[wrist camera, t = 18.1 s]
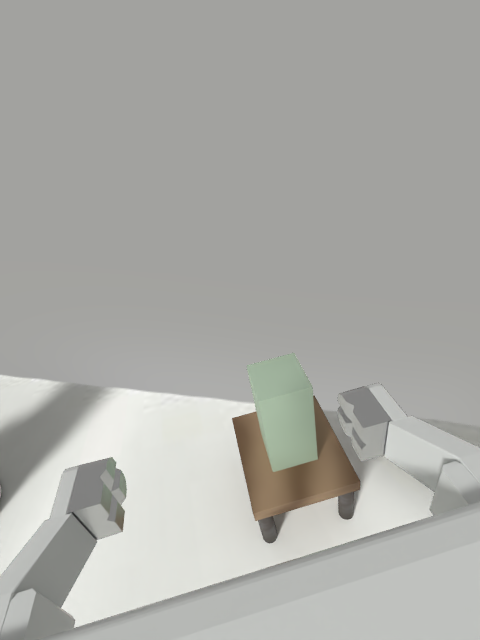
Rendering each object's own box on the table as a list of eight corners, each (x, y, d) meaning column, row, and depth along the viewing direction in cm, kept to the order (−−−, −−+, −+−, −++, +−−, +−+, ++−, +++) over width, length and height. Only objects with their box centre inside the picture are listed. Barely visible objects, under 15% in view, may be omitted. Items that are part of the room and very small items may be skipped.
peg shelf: (263, 547, 36) (253, 513, 32) (242, 453, 46) (232, 418, 42) (358, 518, 37) (360, 481, 33) (316, 432, 47) (314, 395, 43)
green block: (272, 472, 35) (258, 401, 29) (261, 434, 39) (246, 365, 33) (317, 459, 35) (312, 386, 29) (301, 422, 39) (294, 352, 33)
